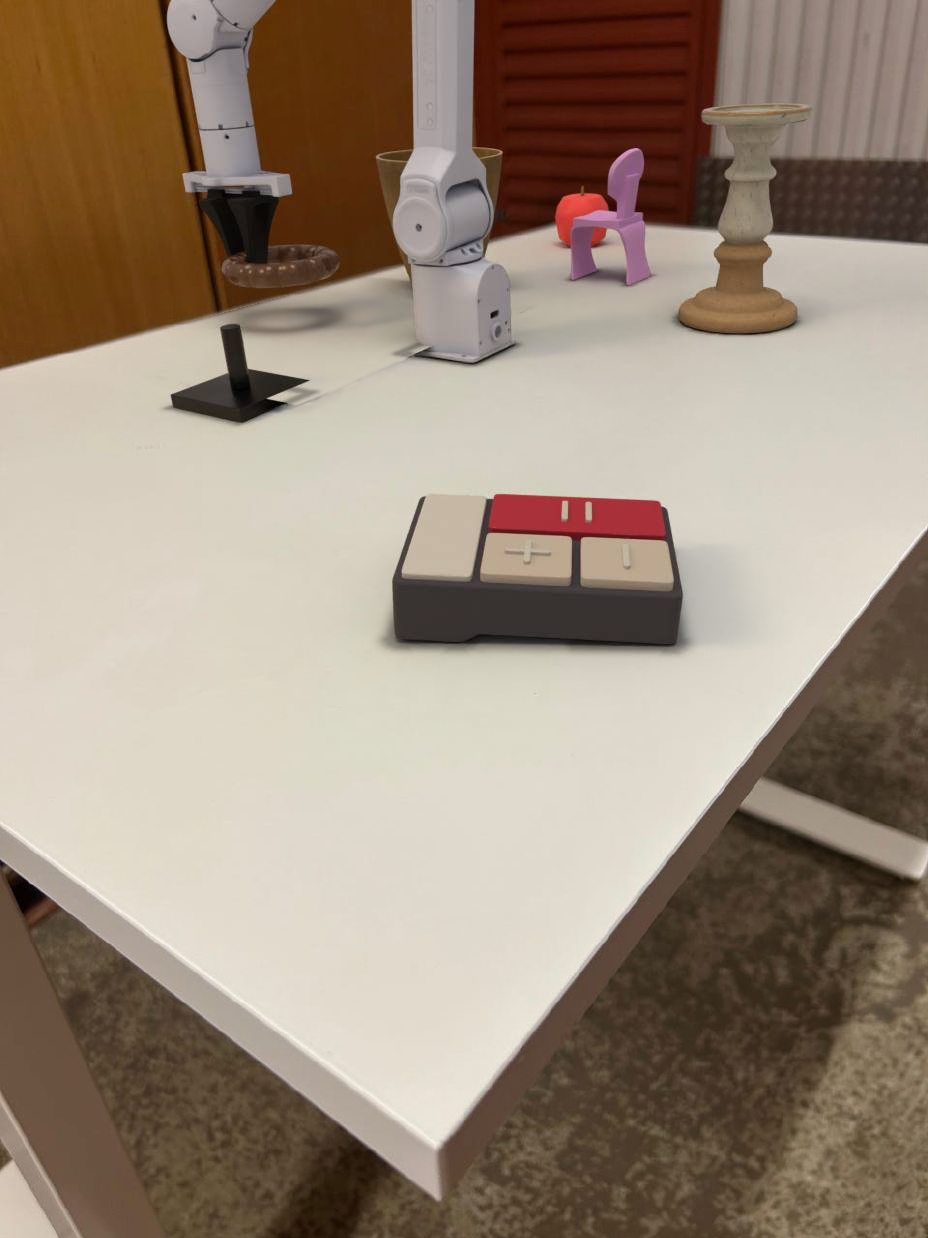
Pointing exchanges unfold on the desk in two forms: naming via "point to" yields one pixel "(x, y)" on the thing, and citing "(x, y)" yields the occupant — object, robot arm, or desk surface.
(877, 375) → the desk surface
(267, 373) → the peg stand
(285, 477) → the desk surface
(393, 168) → the plant pot
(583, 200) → the apple
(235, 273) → the ring
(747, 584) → the desk surface
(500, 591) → the calculator
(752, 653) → the desk surface
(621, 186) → the toy chair
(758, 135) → the candle holder
